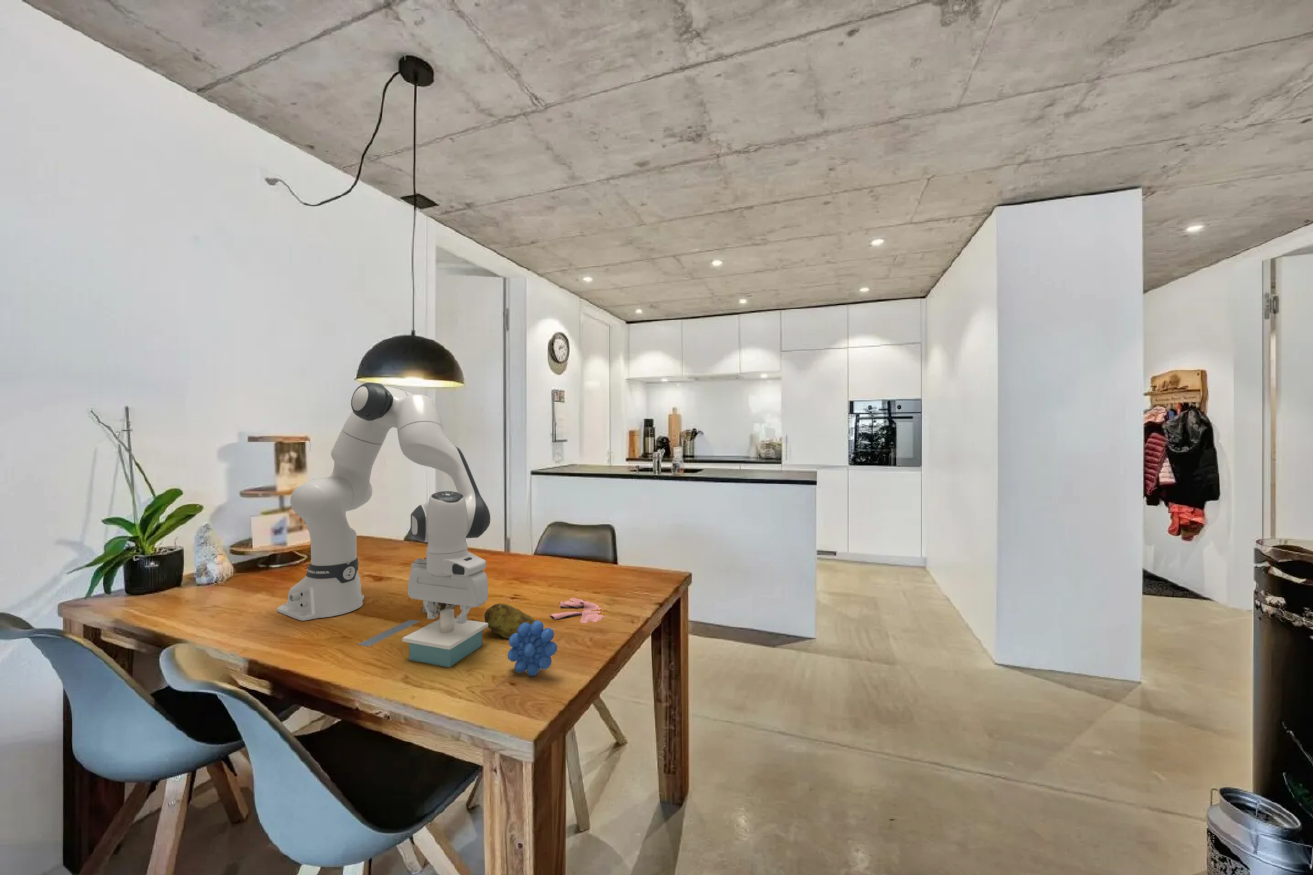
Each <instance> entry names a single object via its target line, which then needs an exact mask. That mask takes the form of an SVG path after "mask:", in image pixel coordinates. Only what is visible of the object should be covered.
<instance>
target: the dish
mask: <svg viewBox="0 0 1313 875" xmlns="http://www.w3.org/2000/svg"><path fill="white" fill-rule="evenodd" d="M408 645H409V648H408V649H409V650H408V651H409V654H408V655H409V658H408V660H409V661H414V662H420V663H424V664H429V665H435V666H440V667H444V668H451V667H452V666H454V665H455V664H457V663H458V662H460V661H461V660H463V659H464V658H465V657H467V656H469V655H470V654H472V653H473V652H475V651H476V650H478V649H479V648H481V647H482V646H483V630H481V631H480V632H478V633H476V634H475V635H473V636H472V637H470V638H468V639H467V640H465V641H463V642H462V643H460V644H458V645H457V646H455V647H453V648H452V649H450V650H448V649H442V648H437V647H431V646H425V645H420V644H414V643H409V644H408Z"/></svg>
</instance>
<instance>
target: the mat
mask: <svg viewBox="0 0 1313 875" xmlns="http://www.w3.org/2000/svg"><path fill="white" fill-rule="evenodd" d="M420 622H421V620H415V619H409V620H406V621H403V622H401V623H400V624H398V625H395V626H392V627H390V628H388V629H387V630H385V631H384V630H383V631H382V632H381V633H378V634H376V635H374V636H371V637H370V638H368V639H365V640H363V641H362V642H359V643H357V644H356V645H358V646H364V647H368V648H369V647H371V646H373V645H375V644H377V643H379V642H382V641H384V640H385V639H387V638H390V637H392V636H393V635H395V634H397V633H399V632H402V631H403V630H406V629H407V628H410V627H412V626H414V625H416V624H417V623H420Z"/></svg>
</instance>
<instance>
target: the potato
mask: <svg viewBox="0 0 1313 875" xmlns="http://www.w3.org/2000/svg"><path fill="white" fill-rule="evenodd" d="M483 617H484V622H485V623H488V627H487V628H489V630H491V631H492V632H493V633H494V634H498V636H500V637H501V638H503V639H506V640H509V638H510V637H511V635H512V634H514V633H518V631H517V630H518V627H519V626H520V625H521V624H522V623H528V624H530V626H531V624H532V623H533V622H534V621H536V620H535V618H534V617H532V616H530V615H529V614H527V613H525V612H523V611H521V609H519V608H517V607H514V606H512V605H510V604H508V603H496V604H494V605H492V606H490V607H489V608H487V609H486V611H485V613H484V616H483Z"/></svg>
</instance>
